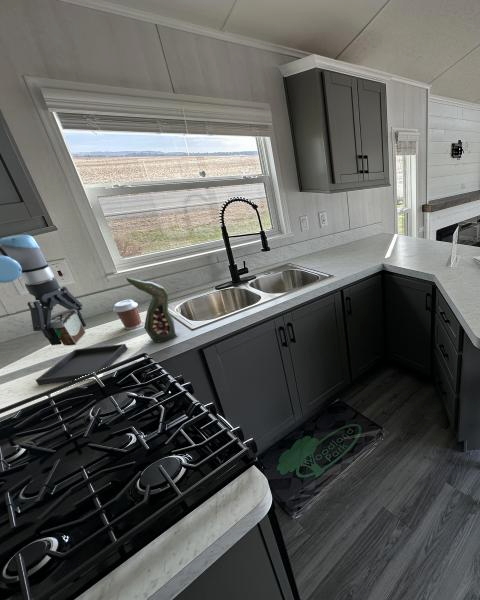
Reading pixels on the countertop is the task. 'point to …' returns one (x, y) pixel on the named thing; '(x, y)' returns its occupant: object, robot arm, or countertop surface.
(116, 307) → the coffee cup
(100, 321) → the countertop surface
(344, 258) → the countertop surface
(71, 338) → the food container
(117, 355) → the storage tray
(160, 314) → the tentacle
